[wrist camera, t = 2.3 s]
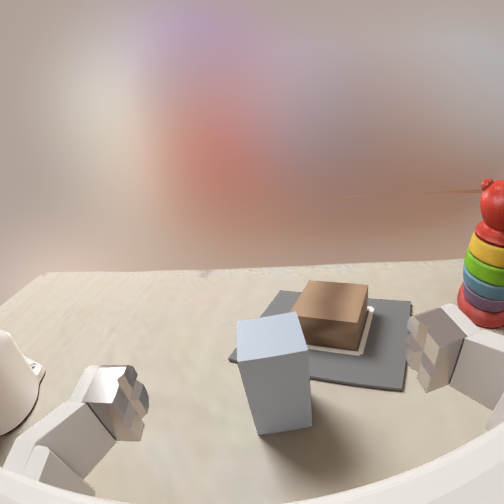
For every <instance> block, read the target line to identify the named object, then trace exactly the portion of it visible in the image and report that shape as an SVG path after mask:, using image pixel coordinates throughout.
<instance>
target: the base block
mask: <svg viewBox="0 0 504 504" xmlns="http://www.w3.org/2000/svg"><path fill="white" fill-rule="evenodd" d="M367 304H368V285H363V284H349V283H336V282H323V281H311V280H309V282H308V284H307V285H306V287H305V288H304V290H303V292H302V293H301V295H300V296H299V298H298V300H297V301H296V303H295V304H294V306H293V307H292V309H291V311H290V312H296V313H297V316H298V319H299V322H300V325H301V329H302V332H303V335H304V338H305V342H306V343H307V344H313V345H320V346H327V347H335V348H342V349H350V350H356V348H357V345H358V342H359V338H360V335H361V331H362V328H363V324H364V321H365V317H366V313H367ZM290 312H289V313H290Z"/></svg>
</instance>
